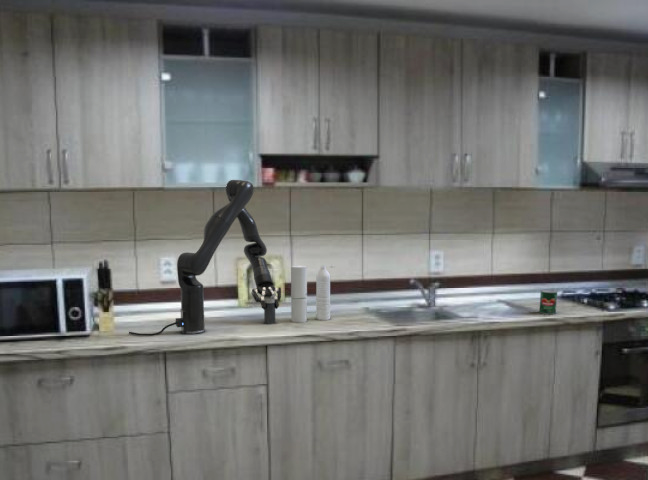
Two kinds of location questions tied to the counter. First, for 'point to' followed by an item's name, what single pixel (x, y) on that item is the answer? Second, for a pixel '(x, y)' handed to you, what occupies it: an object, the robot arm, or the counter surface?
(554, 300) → the canned tomato
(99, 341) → the counter surface
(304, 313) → the cylindrical container
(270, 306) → the salt shaker
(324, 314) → the water bottle
